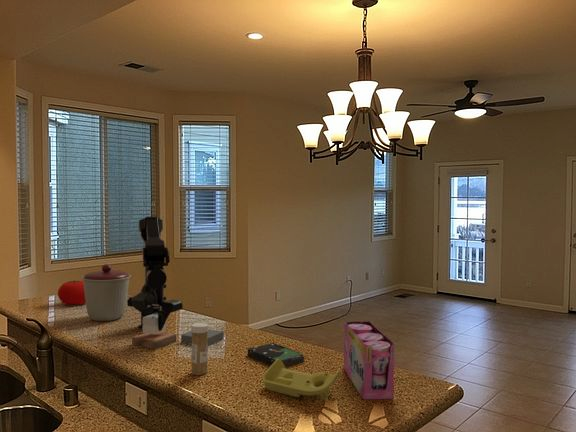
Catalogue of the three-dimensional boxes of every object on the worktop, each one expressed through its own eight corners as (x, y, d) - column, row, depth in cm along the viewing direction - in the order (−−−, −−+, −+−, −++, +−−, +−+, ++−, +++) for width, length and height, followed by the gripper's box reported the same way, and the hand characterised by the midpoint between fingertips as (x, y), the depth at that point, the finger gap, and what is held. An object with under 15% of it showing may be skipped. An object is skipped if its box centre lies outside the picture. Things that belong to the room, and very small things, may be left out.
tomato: (86, 299, 227) (86, 276, 227) (97, 304, 218) (97, 280, 217) (53, 303, 218) (53, 280, 217) (63, 309, 208) (63, 284, 208)
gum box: (396, 401, 120) (398, 346, 120) (364, 402, 119) (365, 346, 119) (369, 367, 144) (370, 320, 143) (342, 368, 143) (343, 321, 143)
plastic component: (258, 380, 127) (280, 354, 134) (267, 402, 129) (289, 376, 136) (322, 395, 114) (342, 366, 121) (331, 419, 116) (351, 389, 123)
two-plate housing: (155, 328, 167) (155, 312, 167) (165, 329, 165) (165, 314, 165) (142, 332, 162) (142, 316, 161) (153, 334, 160) (153, 317, 159)
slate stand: (181, 342, 165) (181, 334, 165) (199, 334, 174) (199, 327, 174) (206, 346, 160) (206, 339, 160) (223, 338, 169) (223, 331, 169)
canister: (116, 325, 184) (116, 268, 183) (71, 322, 187) (71, 266, 186) (138, 314, 202) (139, 262, 201) (97, 311, 205) (97, 260, 204)
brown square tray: (131, 344, 161) (131, 337, 161) (153, 337, 170) (153, 329, 170) (155, 349, 157) (156, 341, 157) (176, 341, 166) (176, 333, 166)
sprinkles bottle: (208, 375, 136) (208, 326, 135) (191, 376, 135) (191, 326, 134) (207, 369, 140) (207, 321, 139) (190, 370, 139) (191, 322, 138)
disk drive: (246, 357, 152) (278, 370, 141) (246, 348, 152) (278, 360, 141) (272, 351, 159) (305, 362, 148) (272, 342, 159) (305, 353, 148)
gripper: (114, 283, 160) (114, 331, 160) (160, 289, 151) (160, 339, 152) (139, 278, 169) (139, 323, 170) (183, 283, 161) (183, 331, 162)
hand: (154, 329), depth 163 cm, fingers closed on two-plate housing, 4 cm apart
